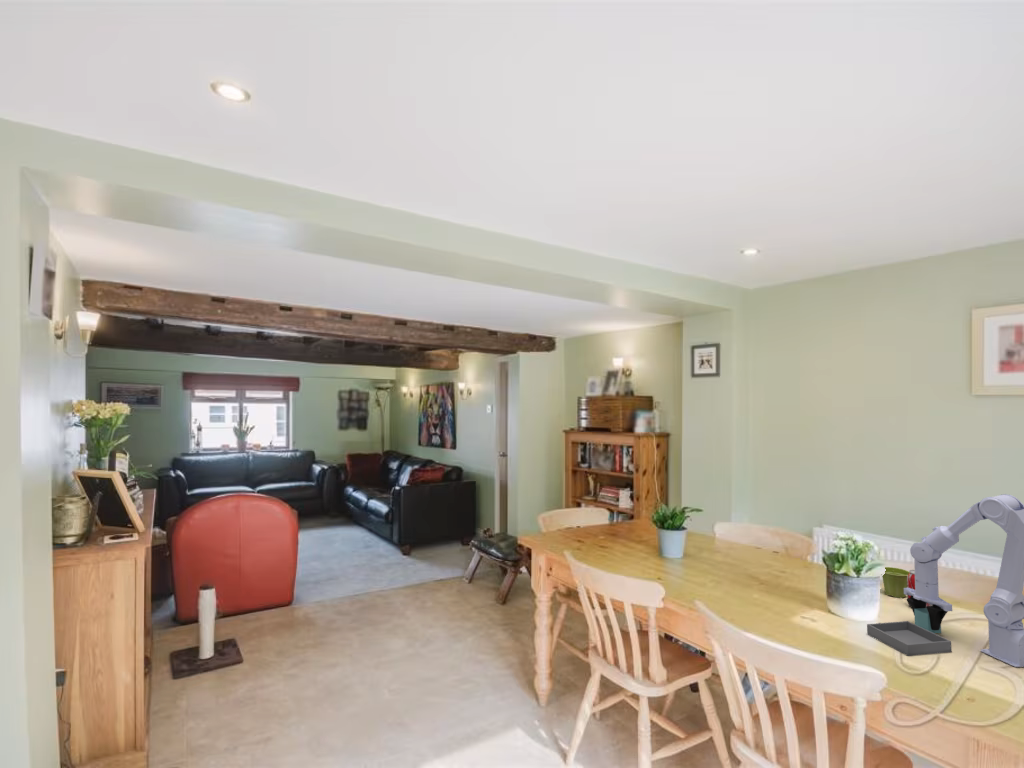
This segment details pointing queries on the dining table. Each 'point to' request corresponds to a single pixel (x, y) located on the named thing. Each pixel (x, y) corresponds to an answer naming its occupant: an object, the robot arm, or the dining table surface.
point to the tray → (909, 638)
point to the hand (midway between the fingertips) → (927, 626)
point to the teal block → (924, 620)
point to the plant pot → (895, 581)
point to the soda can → (912, 583)
